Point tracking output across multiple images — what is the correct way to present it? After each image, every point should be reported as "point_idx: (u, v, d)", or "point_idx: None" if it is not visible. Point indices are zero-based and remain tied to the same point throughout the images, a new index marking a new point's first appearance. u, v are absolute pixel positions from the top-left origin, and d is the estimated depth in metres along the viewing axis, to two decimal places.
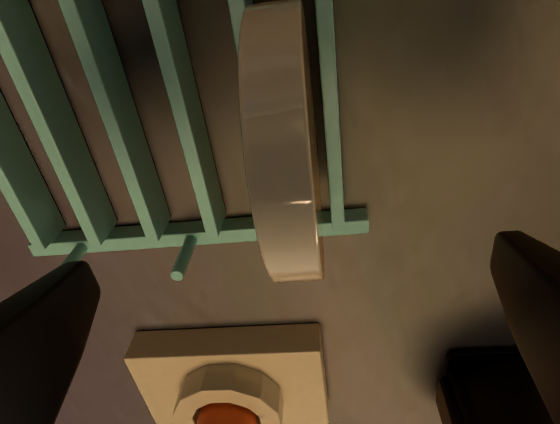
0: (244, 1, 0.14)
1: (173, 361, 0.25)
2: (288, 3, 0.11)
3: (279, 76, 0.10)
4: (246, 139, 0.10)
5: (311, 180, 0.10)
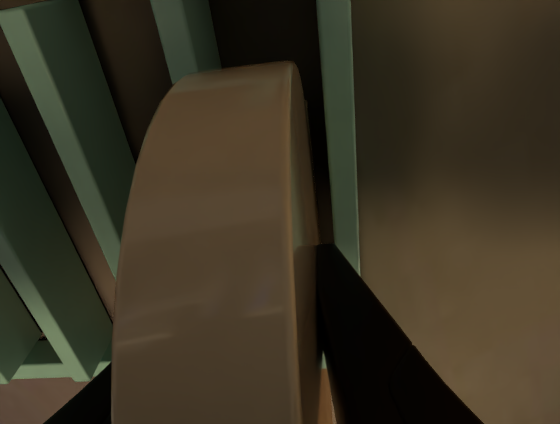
0: (193, 50, 0.08)
1: None
2: (261, 87, 0.05)
3: (223, 333, 0.03)
4: None
5: None
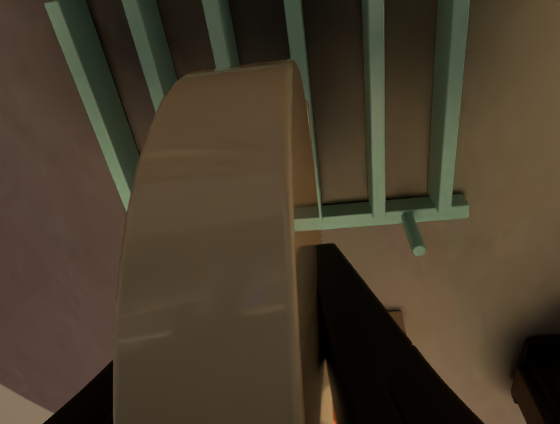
0: None
1: None
2: (263, 85, 0.05)
3: (225, 332, 0.03)
4: None
5: None
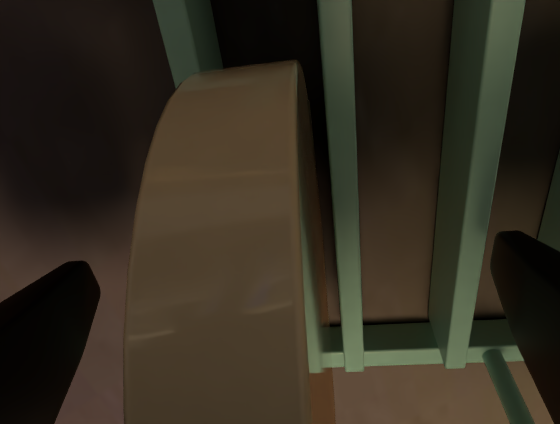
0: None
1: None
2: (268, 85, 0.05)
3: (233, 326, 0.03)
4: None
5: None
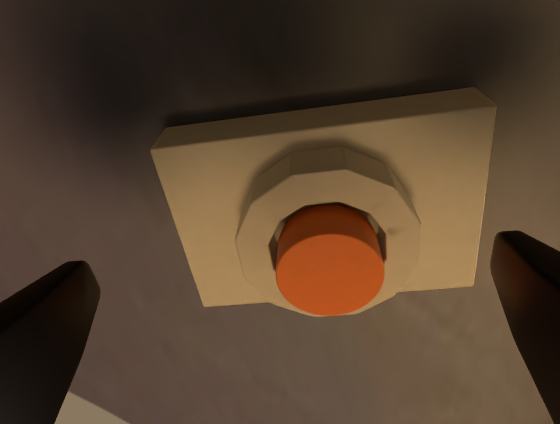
0: None
1: (233, 147, 0.15)
2: None
3: None
4: None
5: None
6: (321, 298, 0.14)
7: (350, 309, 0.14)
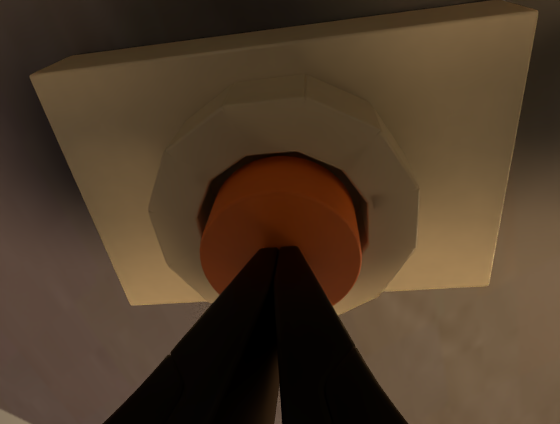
0: None
1: (149, 74, 0.10)
2: None
3: None
4: None
5: None
6: None
7: None
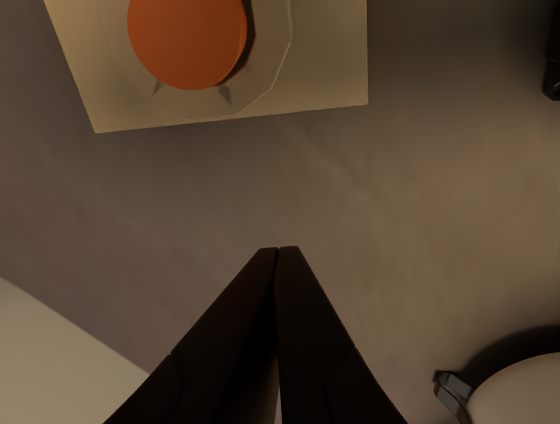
0: None
1: None
2: None
3: None
4: None
5: None
6: (180, 63, 0.14)
7: (211, 79, 0.14)
